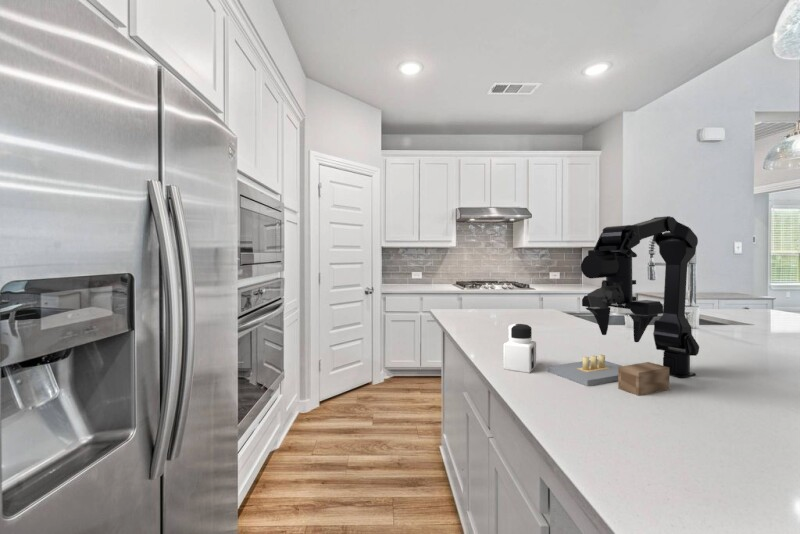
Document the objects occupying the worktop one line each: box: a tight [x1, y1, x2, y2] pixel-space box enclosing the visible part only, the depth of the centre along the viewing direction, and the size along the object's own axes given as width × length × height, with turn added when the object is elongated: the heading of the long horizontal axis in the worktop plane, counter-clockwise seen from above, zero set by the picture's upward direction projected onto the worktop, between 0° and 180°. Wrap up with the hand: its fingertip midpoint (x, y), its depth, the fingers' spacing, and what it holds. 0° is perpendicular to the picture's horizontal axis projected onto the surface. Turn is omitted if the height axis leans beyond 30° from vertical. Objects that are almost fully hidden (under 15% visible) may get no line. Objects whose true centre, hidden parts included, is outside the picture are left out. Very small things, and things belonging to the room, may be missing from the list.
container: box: [502, 323, 537, 374], centre depth 116 cm, size 8×8×13 cm
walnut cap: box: [617, 361, 670, 397], centre depth 97 cm, size 11×5×6 cm, turn 112°
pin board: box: [547, 354, 623, 387], centre depth 109 cm, size 20×14×5 cm
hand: (619, 338), depth 98 cm, fingers open, 9 cm apart
